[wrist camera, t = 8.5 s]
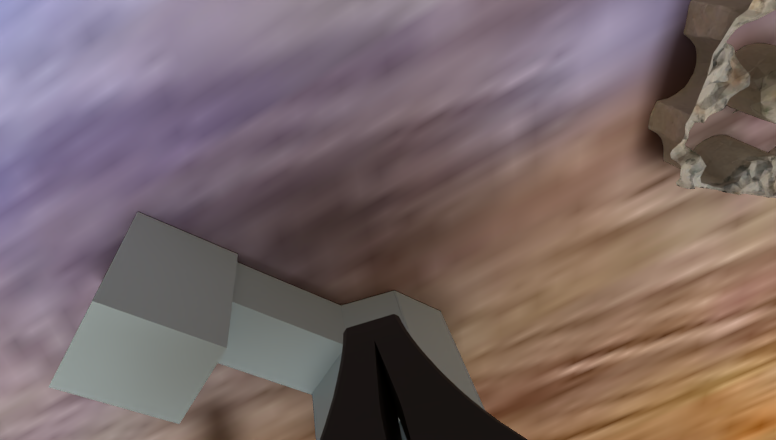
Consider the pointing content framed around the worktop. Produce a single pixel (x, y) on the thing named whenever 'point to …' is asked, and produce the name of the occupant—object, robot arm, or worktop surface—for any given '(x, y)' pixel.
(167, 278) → the link
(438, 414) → the robot arm
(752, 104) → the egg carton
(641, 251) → the worktop surface
